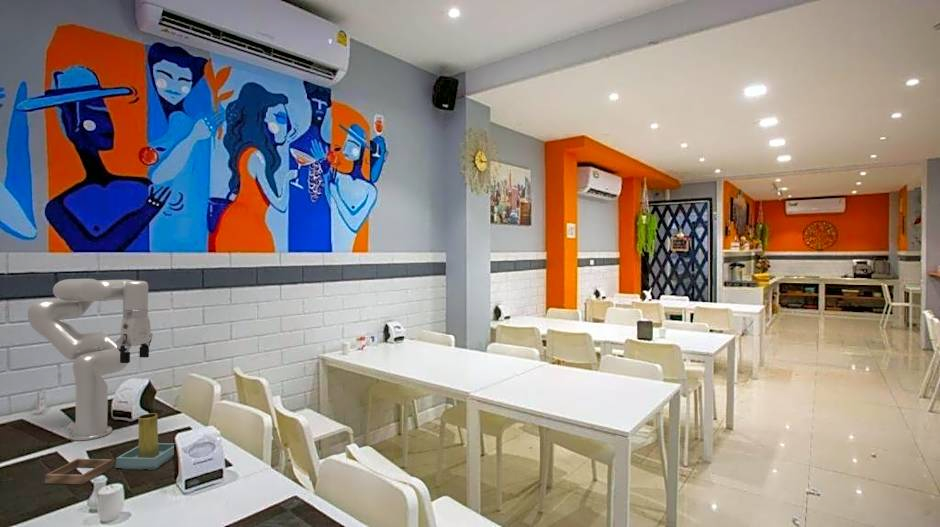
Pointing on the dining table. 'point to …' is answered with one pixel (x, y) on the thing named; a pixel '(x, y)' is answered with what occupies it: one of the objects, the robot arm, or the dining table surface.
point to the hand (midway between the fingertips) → (134, 360)
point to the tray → (133, 462)
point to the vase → (148, 436)
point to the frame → (63, 478)
